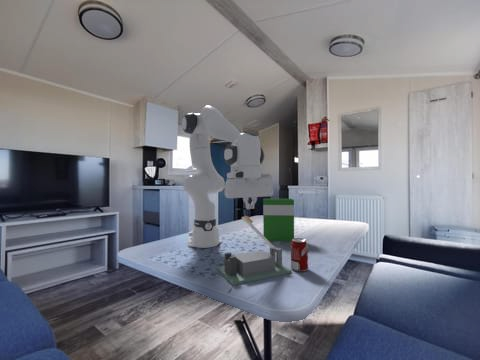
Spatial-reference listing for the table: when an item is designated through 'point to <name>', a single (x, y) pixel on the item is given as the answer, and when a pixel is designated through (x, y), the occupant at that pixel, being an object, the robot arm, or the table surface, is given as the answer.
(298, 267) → the soda can
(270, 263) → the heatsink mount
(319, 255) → the table surface
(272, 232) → the green cereal box
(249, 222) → the strap
